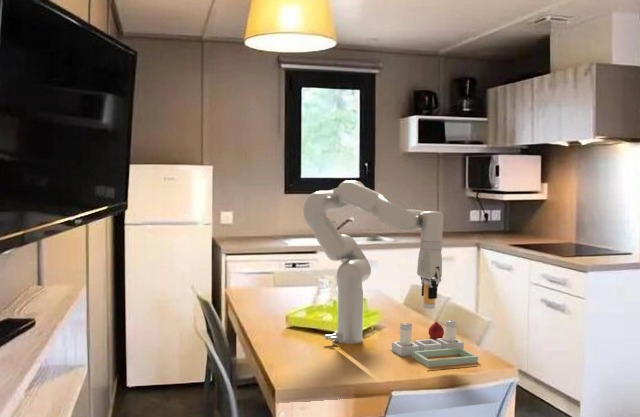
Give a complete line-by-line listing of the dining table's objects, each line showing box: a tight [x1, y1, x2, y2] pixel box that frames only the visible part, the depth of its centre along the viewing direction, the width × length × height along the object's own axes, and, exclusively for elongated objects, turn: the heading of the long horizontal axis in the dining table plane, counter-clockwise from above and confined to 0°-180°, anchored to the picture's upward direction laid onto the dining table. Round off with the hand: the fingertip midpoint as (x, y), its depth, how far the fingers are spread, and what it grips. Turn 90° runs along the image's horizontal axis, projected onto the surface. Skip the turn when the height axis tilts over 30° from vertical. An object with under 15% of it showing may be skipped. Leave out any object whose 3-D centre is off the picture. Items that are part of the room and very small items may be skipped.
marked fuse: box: [422, 279, 436, 310], centre depth 218 cm, size 4×4×10 cm
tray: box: [411, 348, 479, 372], centre depth 208 cm, size 19×11×4 cm, turn 109°
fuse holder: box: [389, 337, 465, 358], centre depth 219 cm, size 26×9×4 cm, turn 109°
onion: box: [428, 320, 445, 340], centre depth 237 cm, size 6×6×8 cm
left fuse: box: [399, 322, 413, 346], centre depth 216 cm, size 4×4×10 cm
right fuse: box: [444, 319, 458, 343], centre depth 221 cm, size 4×4×10 cm
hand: (429, 296), depth 218 cm, fingers closed on marked fuse, 4 cm apart
